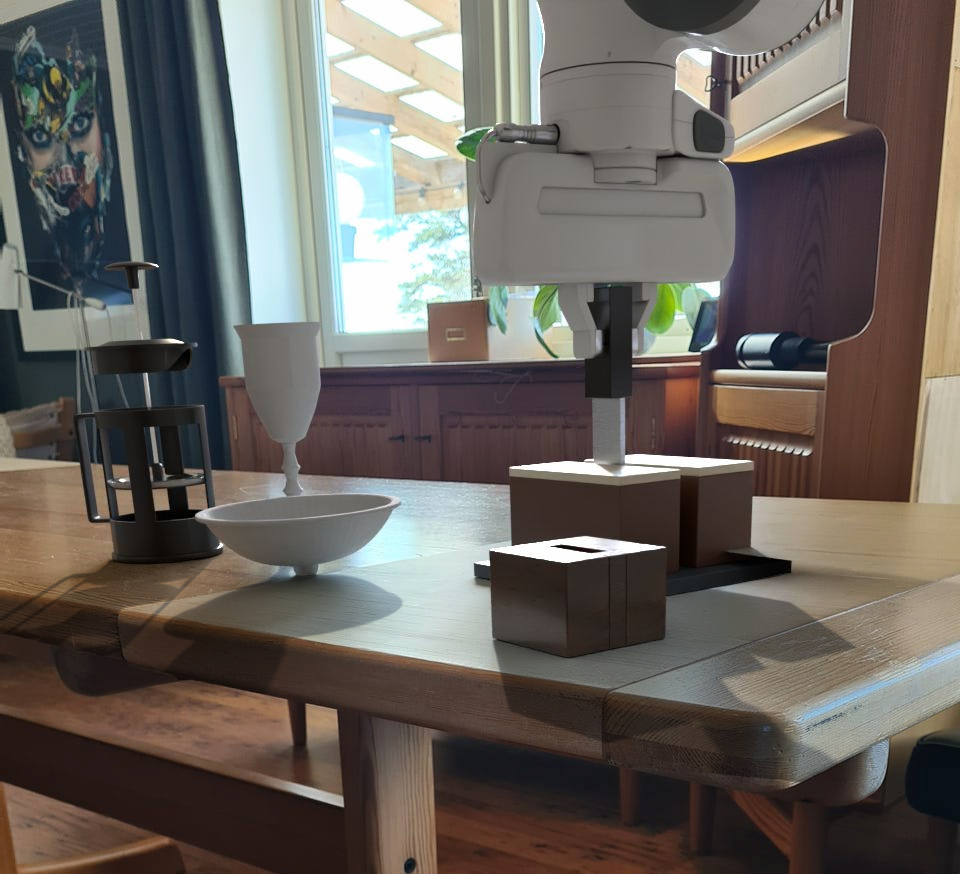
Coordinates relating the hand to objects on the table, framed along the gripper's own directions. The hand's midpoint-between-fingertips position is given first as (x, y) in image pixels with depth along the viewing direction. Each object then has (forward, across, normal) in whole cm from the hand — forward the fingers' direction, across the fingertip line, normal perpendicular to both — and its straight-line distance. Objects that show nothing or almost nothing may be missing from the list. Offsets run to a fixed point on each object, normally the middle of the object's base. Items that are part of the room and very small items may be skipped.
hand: (609, 357), depth 88 cm
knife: (+13, 0, 0) cm, 13 cm away
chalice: (+15, -10, +30) cm, 35 cm away
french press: (+15, -20, +36) cm, 44 cm away
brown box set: (+15, 0, -2) cm, 15 cm away
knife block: (+15, -16, -16) cm, 27 cm away
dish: (+15, -16, +17) cm, 27 cm away
